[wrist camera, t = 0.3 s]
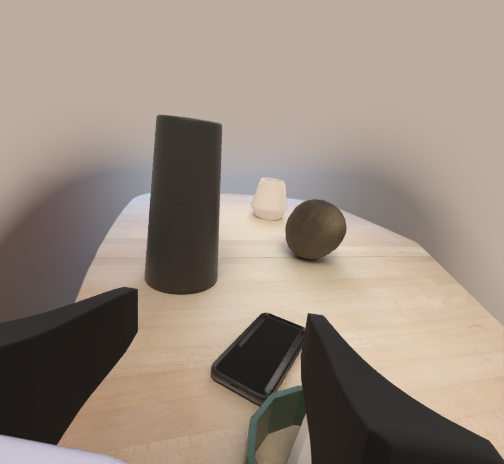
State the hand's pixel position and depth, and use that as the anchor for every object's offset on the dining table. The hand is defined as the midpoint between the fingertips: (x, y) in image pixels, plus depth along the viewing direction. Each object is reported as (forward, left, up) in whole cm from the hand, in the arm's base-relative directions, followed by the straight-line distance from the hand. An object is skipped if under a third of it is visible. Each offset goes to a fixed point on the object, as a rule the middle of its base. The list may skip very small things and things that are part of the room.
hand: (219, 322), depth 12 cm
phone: (+22, -3, -20) cm, 30 cm away
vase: (+40, +14, -20) cm, 47 cm away
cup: (+96, -1, -20) cm, 98 cm away
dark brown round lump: (+60, -13, -20) cm, 65 cm away
